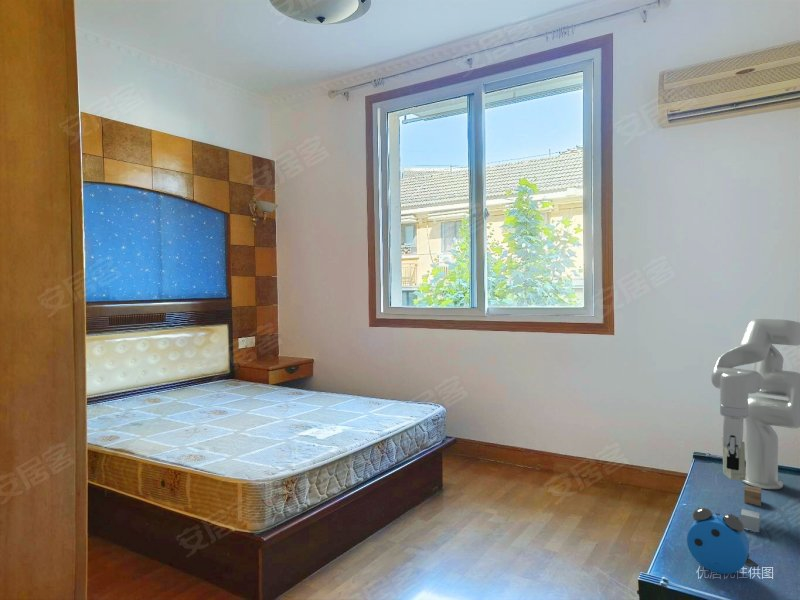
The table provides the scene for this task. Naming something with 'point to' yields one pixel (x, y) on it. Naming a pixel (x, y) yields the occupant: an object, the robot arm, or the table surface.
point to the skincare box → (741, 454)
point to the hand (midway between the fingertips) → (733, 464)
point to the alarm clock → (718, 541)
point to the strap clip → (750, 562)
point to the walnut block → (752, 495)
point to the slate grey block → (750, 519)
